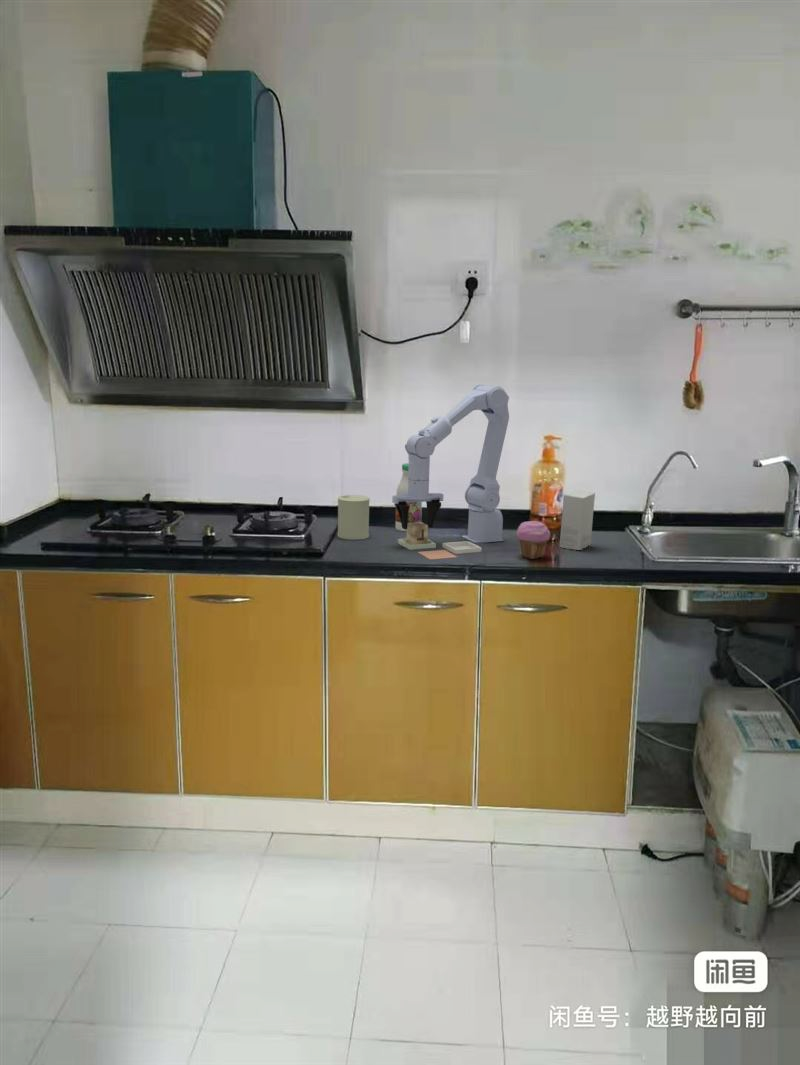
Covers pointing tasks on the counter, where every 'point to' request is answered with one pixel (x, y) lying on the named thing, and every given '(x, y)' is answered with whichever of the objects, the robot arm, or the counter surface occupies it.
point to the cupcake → (533, 538)
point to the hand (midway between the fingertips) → (417, 527)
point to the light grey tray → (461, 547)
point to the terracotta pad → (437, 554)
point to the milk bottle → (414, 507)
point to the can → (353, 517)
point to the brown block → (417, 533)
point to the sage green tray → (417, 546)
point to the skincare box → (577, 519)
